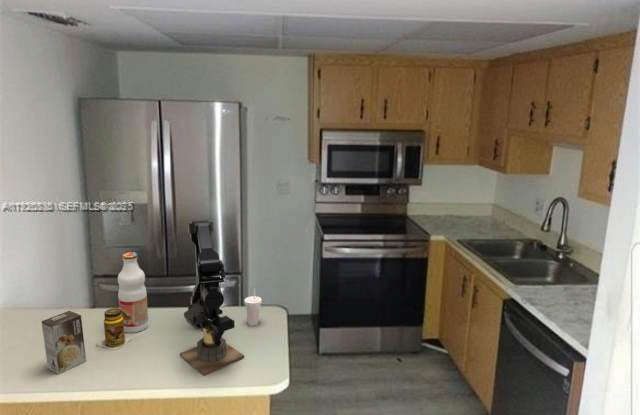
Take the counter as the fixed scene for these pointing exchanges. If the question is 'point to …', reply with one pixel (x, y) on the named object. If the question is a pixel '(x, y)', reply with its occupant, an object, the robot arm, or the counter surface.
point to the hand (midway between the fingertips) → (211, 340)
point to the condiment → (113, 330)
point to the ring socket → (211, 356)
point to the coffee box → (64, 341)
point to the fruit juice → (132, 295)
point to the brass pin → (208, 337)
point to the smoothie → (253, 309)
